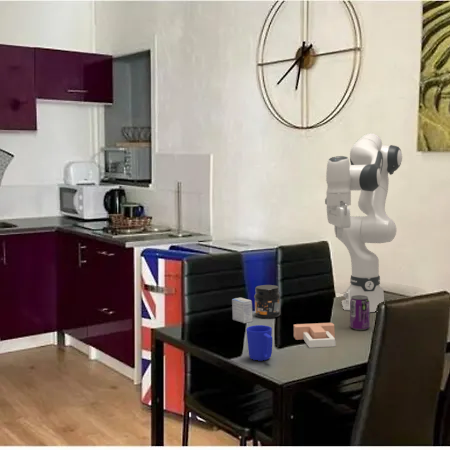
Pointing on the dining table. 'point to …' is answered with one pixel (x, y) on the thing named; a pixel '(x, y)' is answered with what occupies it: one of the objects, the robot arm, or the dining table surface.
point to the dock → (319, 340)
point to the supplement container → (267, 301)
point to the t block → (314, 330)
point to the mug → (259, 342)
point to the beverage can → (359, 312)
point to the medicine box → (242, 310)
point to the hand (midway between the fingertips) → (339, 237)
